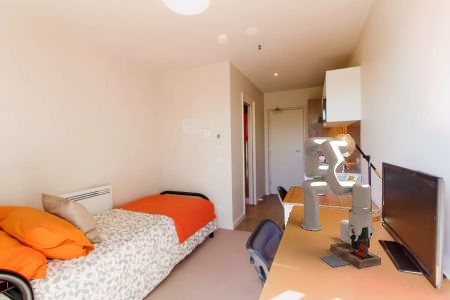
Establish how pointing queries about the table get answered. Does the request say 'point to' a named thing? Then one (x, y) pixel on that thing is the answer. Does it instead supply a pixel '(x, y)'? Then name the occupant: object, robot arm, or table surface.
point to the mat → (334, 261)
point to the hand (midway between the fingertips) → (360, 247)
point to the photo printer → (344, 231)
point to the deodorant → (362, 245)
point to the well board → (349, 256)
